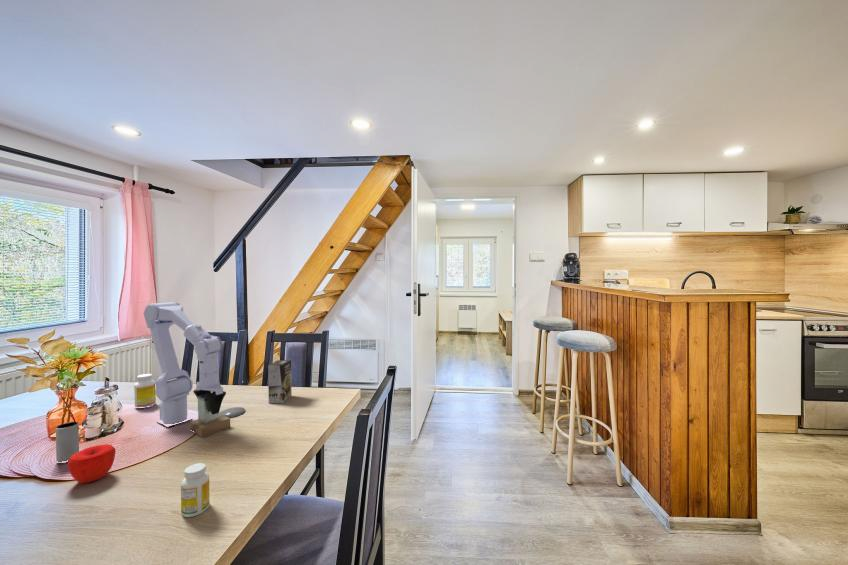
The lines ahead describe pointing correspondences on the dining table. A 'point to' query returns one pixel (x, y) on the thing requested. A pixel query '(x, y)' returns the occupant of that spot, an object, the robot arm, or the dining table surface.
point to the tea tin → (205, 410)
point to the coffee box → (279, 381)
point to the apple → (91, 463)
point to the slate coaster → (232, 412)
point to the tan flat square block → (210, 426)
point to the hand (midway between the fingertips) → (209, 411)
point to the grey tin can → (67, 441)
